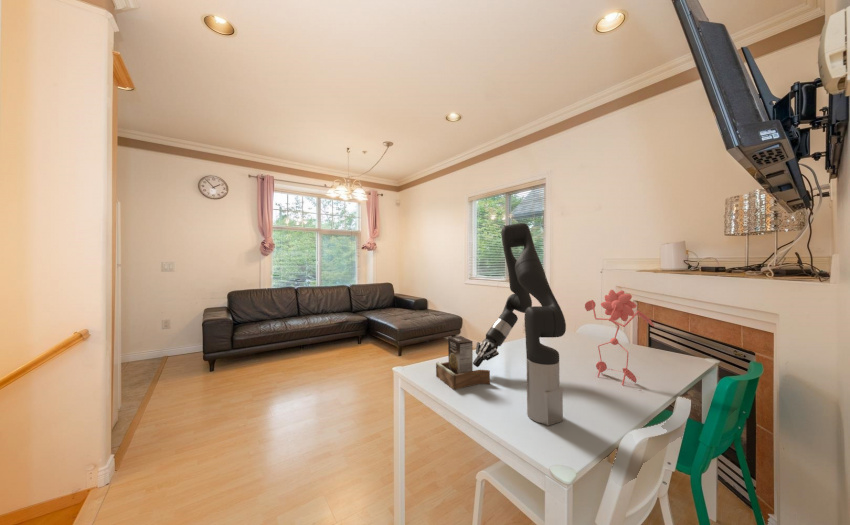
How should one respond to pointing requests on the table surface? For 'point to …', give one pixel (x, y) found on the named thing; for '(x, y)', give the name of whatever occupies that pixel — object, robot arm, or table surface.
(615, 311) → the pink flower stick figure
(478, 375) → the bay
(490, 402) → the table surface
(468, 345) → the coffee box
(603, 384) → the table surface
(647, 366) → the table surface
